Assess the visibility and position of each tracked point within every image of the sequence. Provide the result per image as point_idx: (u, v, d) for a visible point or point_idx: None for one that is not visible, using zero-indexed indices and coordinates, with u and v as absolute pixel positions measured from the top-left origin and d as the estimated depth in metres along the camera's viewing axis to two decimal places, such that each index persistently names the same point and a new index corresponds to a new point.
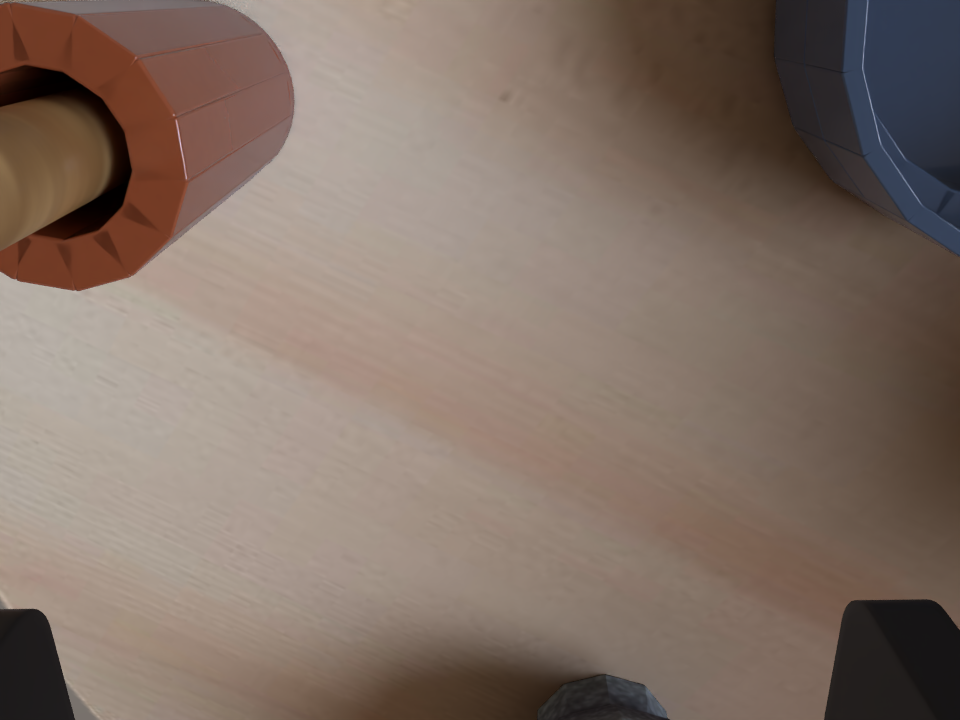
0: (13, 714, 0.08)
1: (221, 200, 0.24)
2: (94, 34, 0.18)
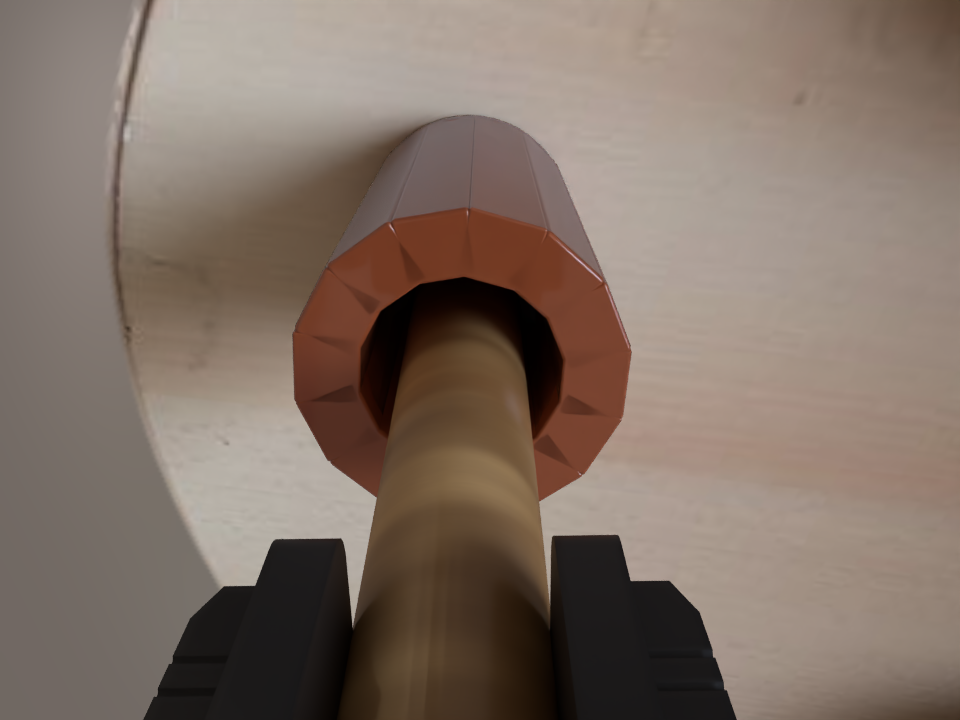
0: (335, 629, 0.09)
1: None
2: (495, 222, 0.14)
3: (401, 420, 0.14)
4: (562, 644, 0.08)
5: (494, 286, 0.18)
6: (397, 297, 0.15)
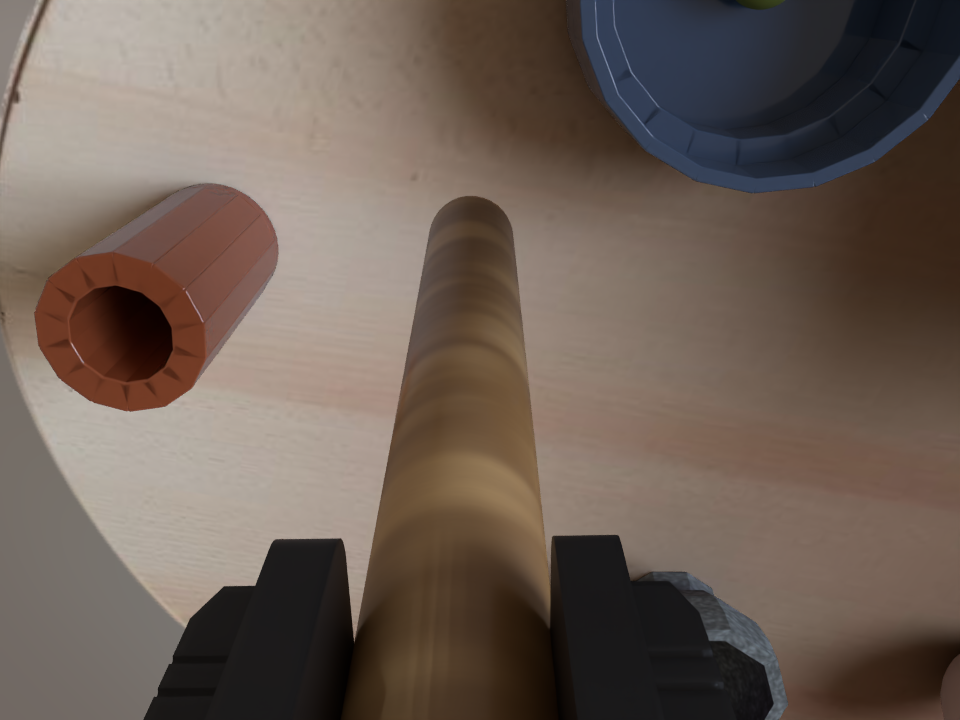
0: (335, 628, 0.09)
1: (238, 319, 0.36)
2: (125, 259, 0.30)
3: (404, 425, 0.14)
4: (562, 644, 0.08)
5: (497, 291, 0.18)
6: (83, 295, 0.30)
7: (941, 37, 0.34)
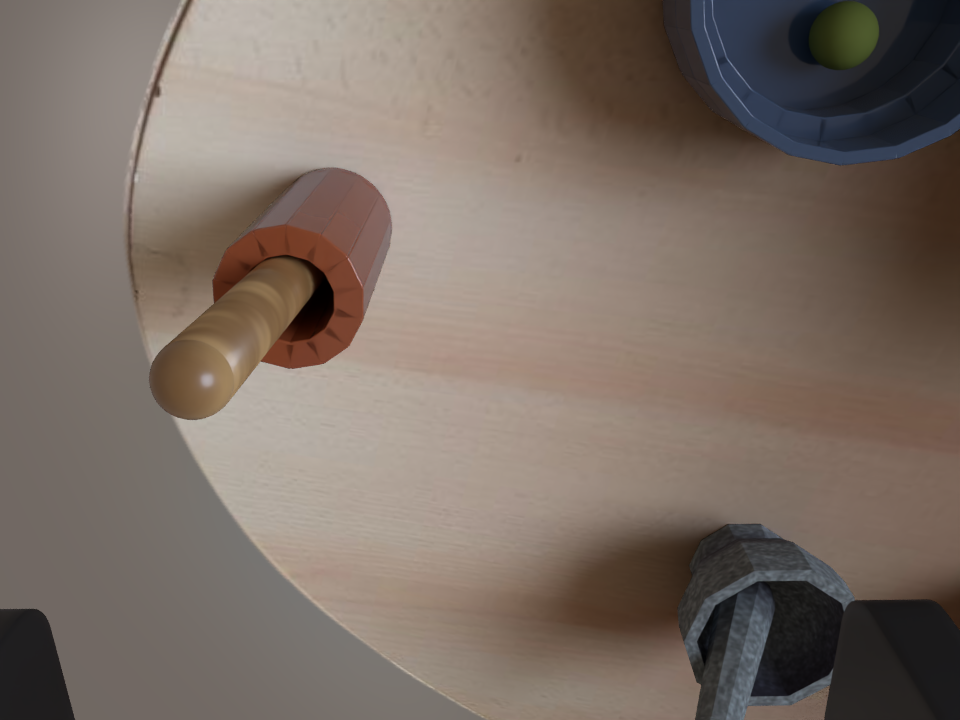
0: (13, 714, 0.08)
1: None
2: (297, 231, 0.34)
3: None
4: None
5: None
6: (257, 263, 0.34)
7: None
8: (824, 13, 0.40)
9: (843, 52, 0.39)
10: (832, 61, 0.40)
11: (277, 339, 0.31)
